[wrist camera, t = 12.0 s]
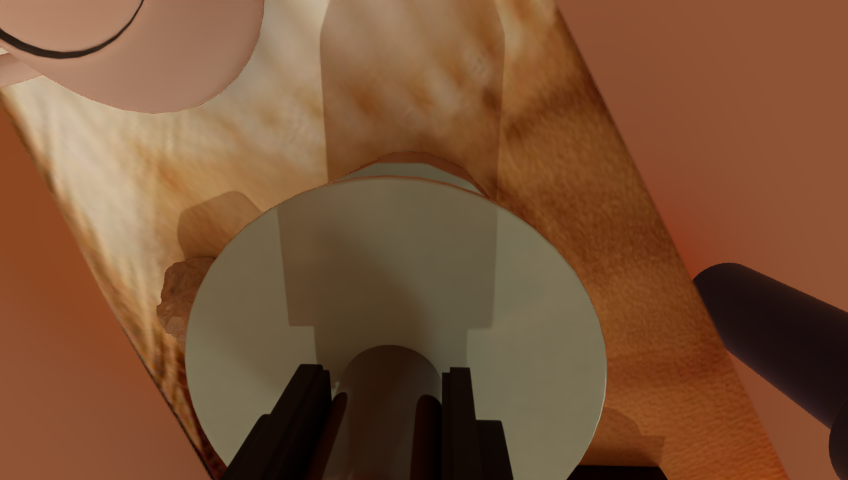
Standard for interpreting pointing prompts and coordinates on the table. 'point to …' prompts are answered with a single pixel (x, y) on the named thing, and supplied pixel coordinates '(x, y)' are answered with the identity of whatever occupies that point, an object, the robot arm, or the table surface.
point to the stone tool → (181, 295)
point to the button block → (616, 473)
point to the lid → (398, 329)
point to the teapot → (130, 48)
